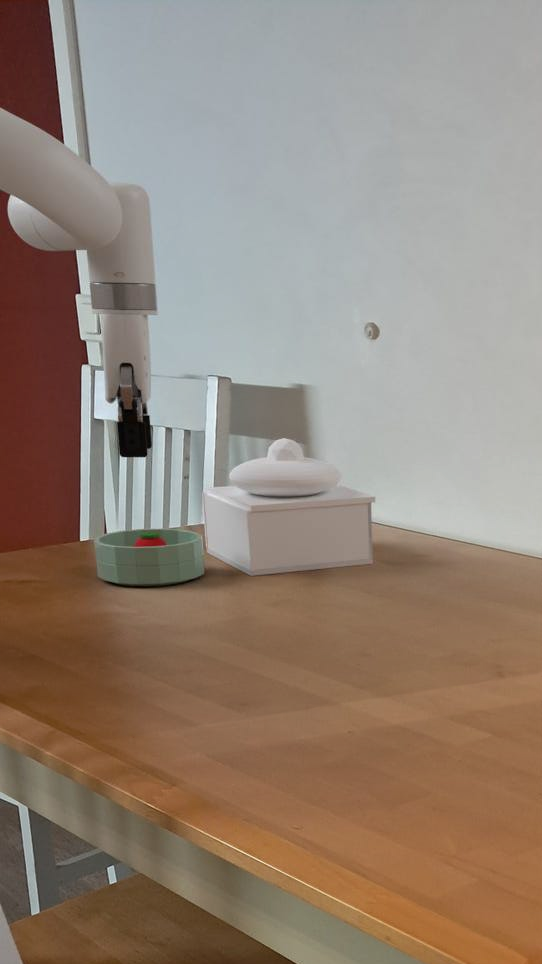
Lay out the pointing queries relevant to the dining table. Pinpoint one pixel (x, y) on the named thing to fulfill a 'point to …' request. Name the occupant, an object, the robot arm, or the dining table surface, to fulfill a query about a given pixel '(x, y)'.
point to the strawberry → (149, 540)
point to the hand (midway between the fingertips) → (136, 452)
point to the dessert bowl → (149, 558)
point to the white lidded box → (287, 516)
